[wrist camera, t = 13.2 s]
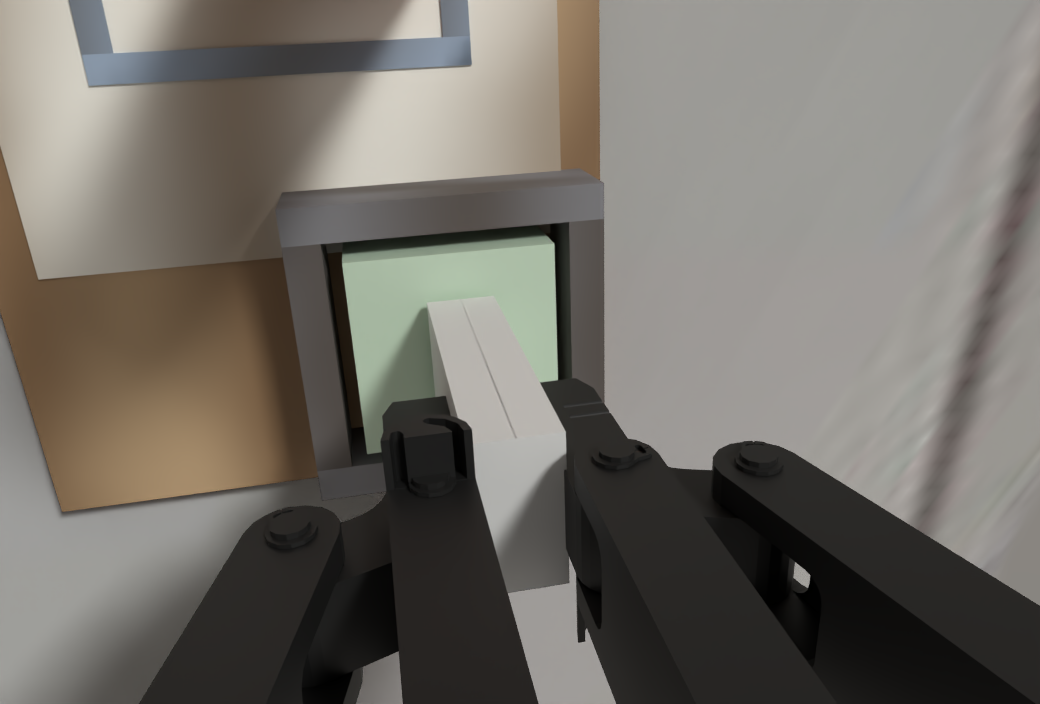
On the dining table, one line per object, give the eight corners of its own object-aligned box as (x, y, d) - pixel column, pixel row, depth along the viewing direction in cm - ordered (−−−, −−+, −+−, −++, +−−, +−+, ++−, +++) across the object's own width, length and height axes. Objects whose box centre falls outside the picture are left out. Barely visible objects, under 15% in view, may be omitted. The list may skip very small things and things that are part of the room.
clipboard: (70, 499, 21) (33, 560, 18) (-251, -558, 13) (-384, -688, 11) (595, 428, 23) (623, 475, 20) (587, -504, 15) (632, -601, 13)
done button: (366, 419, 20) (367, 453, 19) (342, 242, 18) (341, 263, 17) (542, 397, 21) (559, 428, 19) (537, 225, 19) (554, 243, 18)
